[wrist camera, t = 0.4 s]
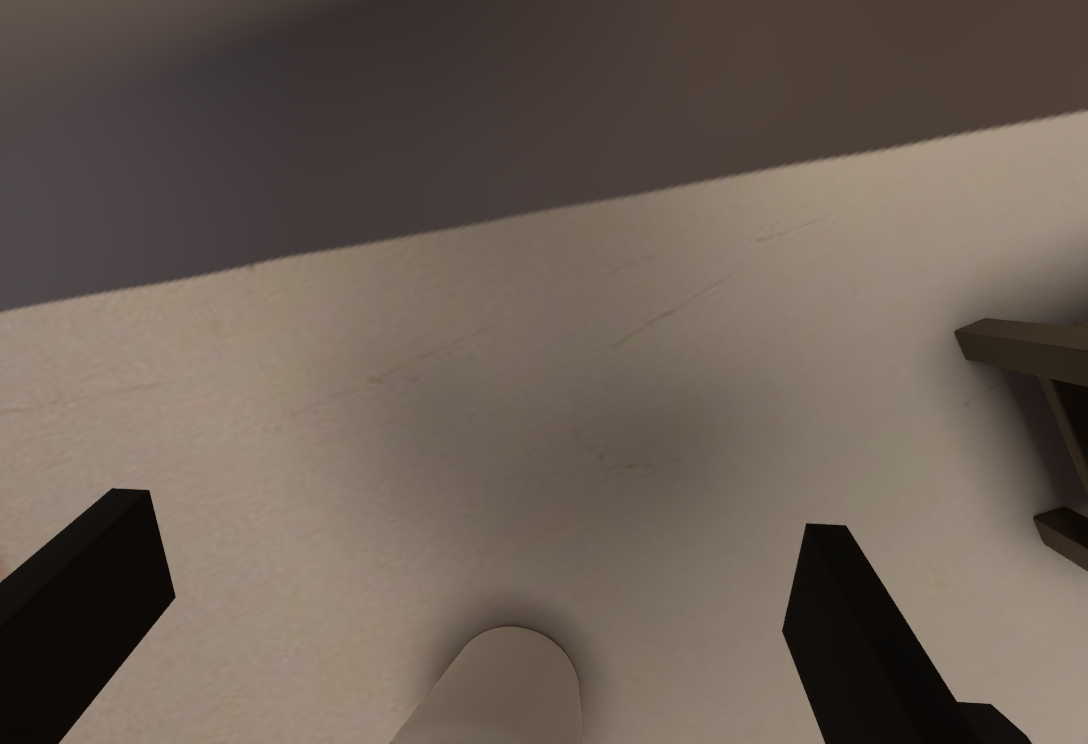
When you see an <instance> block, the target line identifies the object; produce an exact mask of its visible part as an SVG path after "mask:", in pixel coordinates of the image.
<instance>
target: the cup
mask: <svg viewBox="0 0 1088 744" xmlns="http://www.w3.org/2000/svg"><path fill="white" fill-rule="evenodd" d="M390 744H584V736H583V725H582V714H581V703H580V692H579V683H578V678H577V674H576V672H575V669H574V667H573V665H572V663H571V661H570V659H569V658H568V656H567V655H566V654H565V653H564V651H563V650H562V649H561V648H560V647H559V646H558V645H557V644H555V643H554V642H553V641H552V640H550V639H549V638H547V637H546V636H544V635H542V634H540V633H538V632H535V631H533V630H529V629H526V628H521V627H499V628H494V629H491V630H488V631H485V632H483V633H481V634H479V635H478V636H476V637H475V638H473V639H472V640H471V641H470V642H469V643H468V644H467V645H466V646H465V647H464V648H463V649H462V651H461V652H460V653H459V655H458V656H457V657H456V658H455V660H454V661H453V662H452V664H451V665H450V666H449V667H448V669H447V670H446V671H445V673H444V674H443V675H442V676H441V678H440V679H439V680H438V682H437V683H436V684H435V685H434V687H433V688H432V689H431V691H430V692H429V693H428V694H427V696H426V697H425V698H424V700H423V701H422V702H421V703H420V705H419V706H418V707H417V709H416V710H415V711H414V712H413V714H412V715H411V716H410V718H409V719H408V720H407V721H406V723H405V724H404V725H403V727H402V728H401V729H400V730H399V732H398V733H397V734H396V736H395V737H394V738H393V740H392V741H391V742H390Z"/></svg>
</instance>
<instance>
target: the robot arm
mask: <svg viewBox="0 0 1088 744" xmlns="http://www.w3.org/2000/svg"><path fill="white" fill-rule="evenodd" d="M175 597H176V596H175V592H174V588H173V584H172V580H171V576H170V572H169V568H168V564H167V560H166V556H165V552H164V548H163V544H162V540H161V536H160V532H159V528H158V524H157V520H156V516H155V512H154V507H153V503H152V499H151V495H150V491H149V490H135V489H115V488H112V489H111V490H110V491H108V492H107V493H106V494H105V495H104V496H102V497H101V498H100V499H99V500H98V501H97V502H95V503H94V504H93V505H92V506H91V507H89V508H88V509H87V510H86V511H85V512H84V513H82V514H81V515H80V516H79V517H78V518H76V519H75V520H74V521H73V522H72V523H70V524H69V525H68V526H67V527H66V528H65V529H63V530H62V531H61V532H60V533H59V534H57V535H56V536H55V537H54V538H53V539H52V540H50V541H49V542H48V543H47V544H46V545H44V546H43V547H42V548H41V549H40V550H39V551H37V552H36V553H35V554H34V555H33V556H31V557H30V558H29V559H28V560H27V561H25V562H24V563H23V564H22V565H21V566H20V567H18V568H17V569H16V570H15V571H14V572H12V573H11V574H10V575H9V576H8V577H7V578H5V579H4V580H3V581H2V582H1V583H0V744H59V742H60V741H61V740H62V739H63V737H64V736H65V735H66V734H67V732H68V731H69V730H70V729H71V727H72V726H73V725H74V724H75V722H76V721H77V720H78V719H79V717H80V716H81V715H82V714H83V712H84V711H85V710H86V709H87V707H88V706H89V705H90V704H91V702H92V701H93V700H94V699H95V697H96V696H97V695H98V694H99V692H100V691H101V690H102V689H103V687H104V686H105V685H106V684H107V682H108V681H109V680H110V679H111V677H112V676H113V675H114V674H115V672H116V671H117V670H118V669H119V667H120V666H121V665H122V664H123V662H124V661H125V660H126V659H127V657H128V656H129V655H130V654H131V652H132V651H133V650H134V649H135V647H136V646H137V645H138V644H139V642H140V641H141V640H142V639H143V637H144V636H145V635H146V634H147V632H148V631H149V630H150V629H151V627H152V626H153V625H154V624H155V622H156V621H157V620H158V619H159V617H160V616H161V615H162V614H163V612H164V611H165V610H166V609H167V607H168V606H169V605H170V604H171V602H172V601H173V600H174V599H175ZM782 632H783V635H784V637H785V640H786V642H787V645H788V648H789V650H790V653H791V655H792V658H793V661H794V663H795V666H796V668H797V671H798V674H799V676H800V679H801V681H802V684H803V687H804V689H805V692H806V694H807V697H808V700H809V702H810V705H811V707H812V710H813V713H814V715H815V718H816V720H817V723H818V726H819V728H820V731H821V733H822V736H823V739H824V741H825V744H1032V743H1031V741H1030V740H1029V739H1028V737H1027V736H1026V735H1025V734H1024V733H1023V732H1022V731H1021V730H1019V729H1018V728H1017V727H1016V726H1015V725H1014V724H1013V723H1012V722H1010V721H1009V720H1008V719H1007V718H1006V717H1005V716H1004V715H1003V714H1001V713H1000V712H999V711H998V710H997V709H996V708H995V707H994V706H992V705H991V704H982V703H965V702H957V701H956V700H955V698H954V697H953V695H952V693H951V692H950V690H949V689H948V687H947V685H946V684H945V682H944V681H943V679H942V677H941V676H940V674H939V673H938V671H937V669H936V668H935V666H934V665H933V663H932V662H931V660H930V658H929V657H928V655H927V654H926V652H925V650H924V649H923V647H922V646H921V644H920V642H919V641H918V639H917V638H916V636H915V634H914V633H913V631H912V630H911V628H910V627H909V625H908V623H907V622H906V620H905V619H904V617H903V615H902V614H901V612H900V611H899V609H898V607H897V606H896V604H895V603H894V601H893V599H892V598H891V596H890V595H889V593H888V591H887V590H886V588H885V587H884V585H883V584H882V582H881V580H880V579H879V577H878V576H877V574H876V572H875V571H874V569H873V568H872V566H871V564H870V563H869V561H868V560H867V558H866V556H865V555H864V553H863V552H862V550H861V549H860V547H859V545H858V544H857V542H856V541H855V539H854V537H853V536H852V534H851V533H850V531H849V529H848V528H847V526H846V525H827V524H807V523H806V527H805V532H804V536H803V541H802V545H801V550H800V554H799V558H798V563H797V567H796V572H795V576H794V581H793V585H792V590H791V594H790V598H789V603H788V607H787V612H786V616H785V621H784V625H783V630H782Z"/></svg>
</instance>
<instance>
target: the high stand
mask: <svg viewBox="0 0 1088 744" xmlns="http://www.w3.org/2000/svg"><path fill="white" fill-rule="evenodd" d="M955 334H956V336H957V339H958V341H959V343H960V346H961V348H962V350H963V353H964V355H965V357H966V359H967V360H971V361H976V362H980V363H985V364H989V365H993V366H998V367H1002V368H1006V369H1011V370H1015V371H1020V372H1024V373H1028V374H1033V375H1037V376H1038V378H1039V380H1040V382H1041V385H1042V387H1043V390H1044V392H1045V394H1046V397H1047V399H1048V402H1049V404H1050V406H1051V409H1052V411H1053V414H1054V416H1055V418H1056V421H1057V423H1058V426H1059V428H1060V430H1061V433H1062V435H1063V438H1064V440H1065V442H1066V445H1067V447H1068V450H1069V452H1070V454H1071V457H1072V459H1073V462H1074V464H1075V466H1076V469H1077V471H1078V474H1079V476H1080V478H1081V481H1082V483H1083V486H1084V488H1085V490H1086V493H1087V495H1088V322H1086V323H1084V324H1081V325H1079V326H1076V327H1070V326H1060V325H1049V324H1039V323H1029V322H1019V321H1009V320H999V319H989V318H985V319H982V320H980V321H978V322H975V323H973V324H971V325H968V326H966V327H963V328H961V329H959V330H956V331H955ZM1034 520H1035V523H1036V525H1037V527H1038V530H1039V532H1040V534H1041V537H1042V539H1043V542H1044V544H1045V545H1047V546H1048V547H1050V548H1051V549H1053V550H1055V551H1056V552H1058V553H1059V554H1061V555H1063V556H1064V557H1066V558H1067V559H1069V560H1070V561H1072V562H1074V563H1075V564H1077V565H1078V566H1080V567H1082V568H1083V569H1085V570H1086V571H1088V518H1087V517H1085V516H1083V515H1081V514H1079V513H1077V512H1075V511H1073V510H1071V509H1070V508H1068V507H1066V506H1063V507H1061V508H1058V509H1055V510H1052V511H1050V512H1047V513H1044V514H1041V515H1038V516H1036V517H1034Z"/></svg>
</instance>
